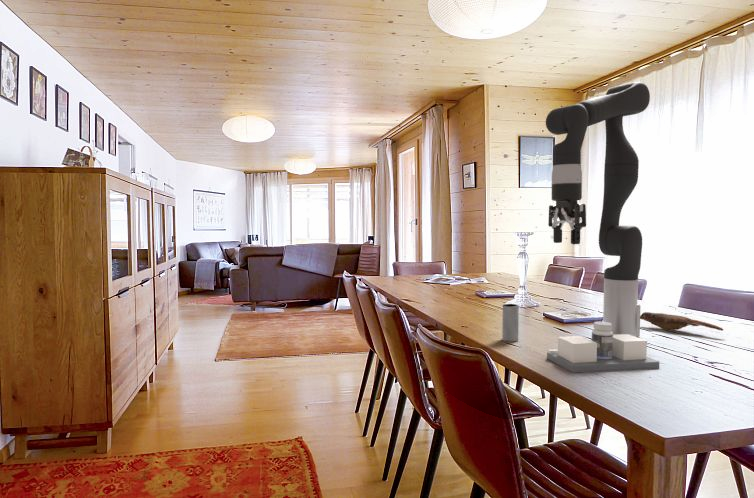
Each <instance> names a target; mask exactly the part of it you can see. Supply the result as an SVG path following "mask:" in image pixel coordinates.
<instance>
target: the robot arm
mask: <svg viewBox="0 0 754 498" xmlns="http://www.w3.org/2000/svg"><path fill="white" fill-rule="evenodd" d="M650 100H651V94H650V90H649V87H648V86H647V85H646V84H645V83H644V82H642V81H634V82H629V83H624V84H621V85H616V86H612V87H610V88H609V89H608V90H607V91H606V93H605V95H601V96H600V95H599V96H596V97H592V98H591V97H590V98H588V99H585V100H581V101H579V102H577V103H574V104H569V105H565V106H561V107H556V108H554V109H552V110H551V111H549V112H548V114H547V115H546V119H545V126H546V127H545V128H546V129H547V131H548V133H551V134H552V135H557V136H559V135H565V136H566V137H565V138H564V139H563V140H562V141H561V142H558V143H556V144H554V146H553V148H552V170H551V201H552V202H555V204H553V205H551V204H550V205H549V206H548V221H547V222H548V227H551V229H552V230H553V243H554V244H560V243H562V242H563V229H562V228H563V226H564V224H569V227H570V244H571V245H580V243H581V230H582V229H583V228H586V227H587V211H586V210H587V209H586V208H587V207H586V203H578V201H581V200H582V198H583V197H582V196H583V194H582V192H583V189H582V188H583V171H582V155H581V154H582V147H583V143H584V139H585V137H586V133H587V130H588V127H590V126H593V125H596V124H598V123H601V122H604V121H605V123H604V124H605V127H604V128H605V156H604V169H603V170H604V172H603V173H604V174H603V199H602V211H601V218H600V225H599V232H598V246H599V251H600V252H601V253H602V254H603V255H606V256H612V257H614V256H615V257H619V260H618V262H617V263H616V264H615V265H613V266H610V267H607V268H605V270H604V272H603V304H602V305H603V307H602V309H603V310H602V311H603V313H602V314H603V315H602V318H603V319H602V322H608V323H611V324H612V330H611V331H612V332H613V335H617V334H629V335H632V336H635V337H638V338H639V337H641V336H640V335H641V334H640V333H641V319H640V316H641V305H640V303H639V304H638V302H639V301H638V300H639V299H638V294H639V293H638V292H639V274H640V270H641V264H642V251H643V235H642V232H641V230H640V229H639V227H638V226H635V225H620V218H621V212H622V211H623V210H622V209H623V207H624V205H625V204H626V202H627V201H628V199H629V198H630V196H631V194H632V193H633V191H634V190H635V187H636V186H637V184H638V181H639V163H640V162H639V161H640V160H639V157H638V154H637V152H636V150H635V149H634V148H633V146H632V145H631V143H630V142H629V140H628V139H627V137H626V135H625V132H624V126H623V125H624V124H623V123H624V121H623V118H624V117H627V116H634V115H637V114H640V113H642V112H644V111H646V109H647V108H648V106H649V104H650V102H651V101H650Z"/></svg>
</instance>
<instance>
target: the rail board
mask: <svg viewBox="0 0 754 498" xmlns="http://www.w3.org/2000/svg"><path fill="white" fill-rule="evenodd" d="M647 349H648V340H646V339H643V338H640V337H639V336H638V337H635V336H632V335H629V334H617V335H613V355H612V358H611V359H598V358H597V343H596V342H594V341H592V339H589V338H587V337H585V336H584V337H583V336H582V335H576V336H574V335H572V336H558V337H557V348H556V349H554V348H553V349H547V352H546V359H547V360H549V361H551V362H552V363H554V364H556V365H559V366H560V367H562V368H563V369H565V370H567V371H569V372H570V373H590V372H609V371H612V372H613V371H630V370H645V369H646V370H647V369H648V370H649V369H659V368H660V361H659V360H656V359H653V358H651V357H649V356H647V353H648V352H647V351H648V350H647Z"/></svg>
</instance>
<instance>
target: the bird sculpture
mask: <svg viewBox="0 0 754 498" xmlns="http://www.w3.org/2000/svg"><path fill="white" fill-rule="evenodd" d="M640 320H643V321H645V322H647V323H650V324H651V325H654V326H656V327H657V328H660V329H662V330H665V331H675V330H681V329H683V328H686V327H687V326H693V327H699V326H700V327H701V326H702V327H706V328H709V329H713V330H717V331H724V328H722V327H719V325H716V324H712V323H709V322H705V321H702V320H698V319H692V318H689V317H686V316H682V315H677V314H676V315H675V314H668V313H667V314H666V313H660V312H657V313H656V312H649V311H648V312H647V311H644V312H643V313H642V314H640Z"/></svg>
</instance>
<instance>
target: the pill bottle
mask: <svg viewBox="0 0 754 498" xmlns="http://www.w3.org/2000/svg"><path fill="white" fill-rule="evenodd" d="M611 330H612V324H611V323H608V322H603V321H594V322H593V330H592V331H591V341H594V342H596V343H597V358H598V359H611V358H612V355H613V332H612V331H611Z"/></svg>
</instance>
